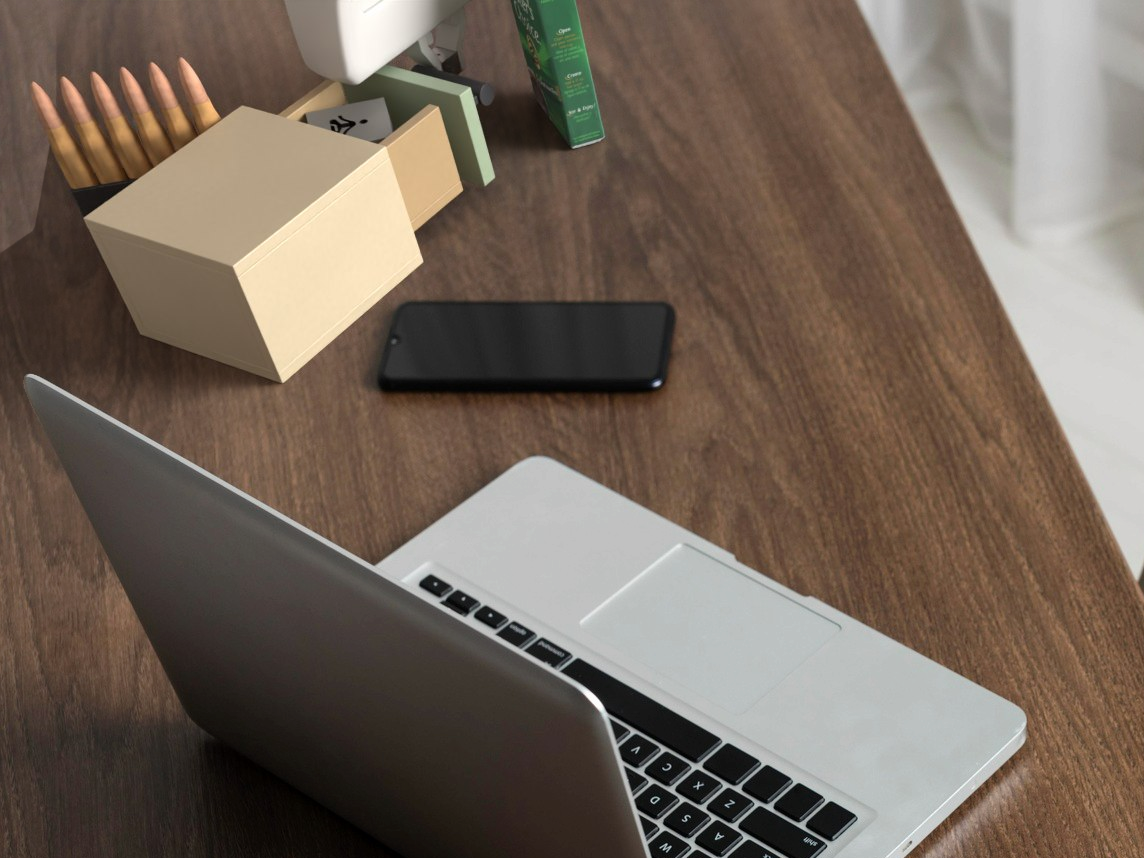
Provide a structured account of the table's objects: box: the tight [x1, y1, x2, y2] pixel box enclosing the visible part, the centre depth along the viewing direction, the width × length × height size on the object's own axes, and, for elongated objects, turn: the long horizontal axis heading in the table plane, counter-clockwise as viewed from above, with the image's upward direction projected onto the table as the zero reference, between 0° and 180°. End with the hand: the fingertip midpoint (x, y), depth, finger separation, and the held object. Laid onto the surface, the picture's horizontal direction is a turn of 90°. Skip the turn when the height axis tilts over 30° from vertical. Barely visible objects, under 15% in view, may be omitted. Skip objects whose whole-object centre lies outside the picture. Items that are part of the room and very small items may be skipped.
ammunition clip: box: [29, 56, 222, 260], centre depth 110 cm, size 11×2×12 cm, turn 103°
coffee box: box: [509, 0, 606, 149], centre depth 119 cm, size 8×3×13 cm, turn 29°
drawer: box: [277, 64, 496, 233], centre depth 114 cm, size 17×10×7 cm, turn 154°
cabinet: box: [82, 104, 424, 384], centre depth 107 cm, size 14×12×9 cm
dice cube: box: [306, 97, 394, 144], centre depth 113 cm, size 5×5×5 cm
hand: (445, 78), depth 121 cm, fingers closed
